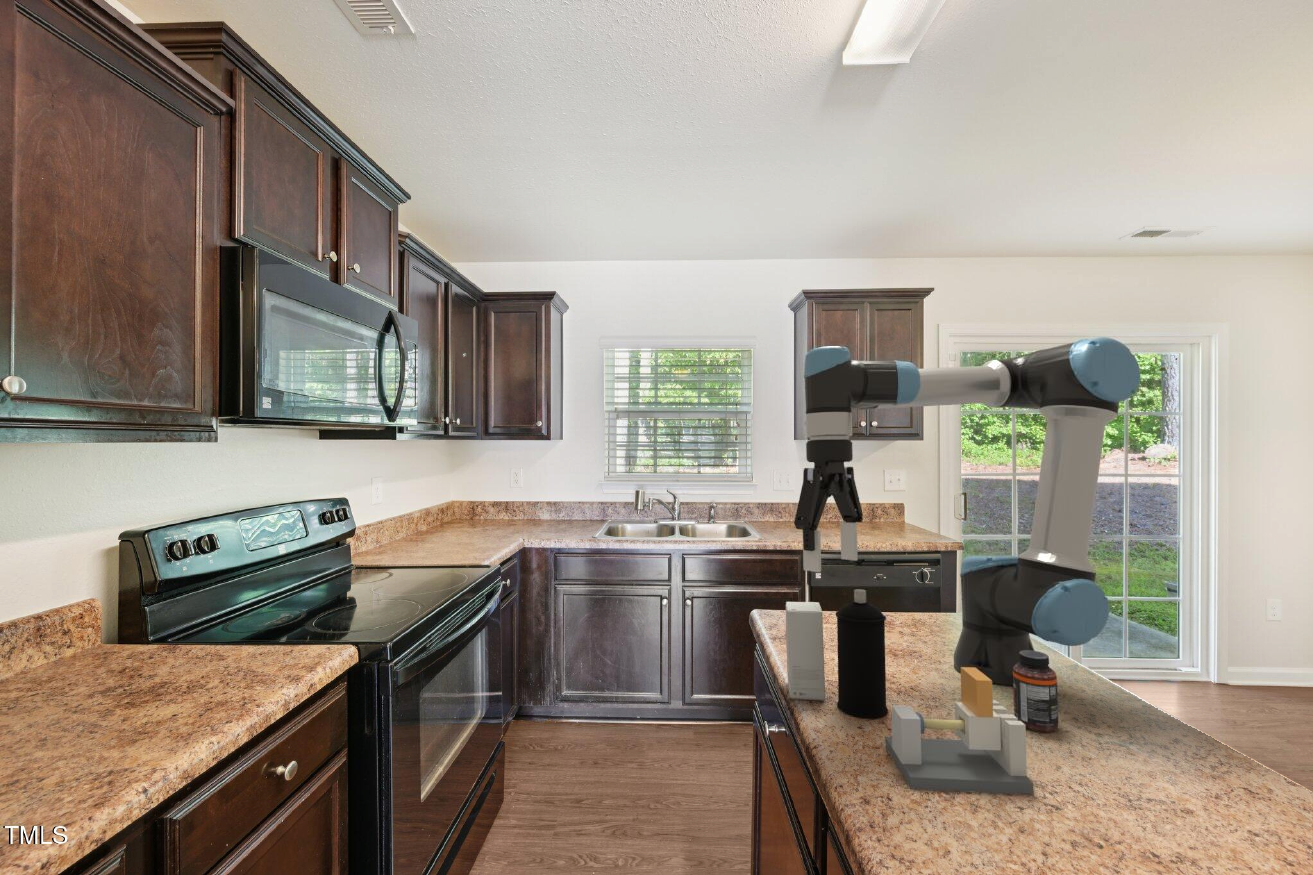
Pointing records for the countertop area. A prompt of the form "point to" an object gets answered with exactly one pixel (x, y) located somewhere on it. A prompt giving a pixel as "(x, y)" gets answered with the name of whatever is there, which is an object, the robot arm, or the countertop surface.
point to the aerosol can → (861, 659)
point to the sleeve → (977, 712)
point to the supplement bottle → (1035, 692)
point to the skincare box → (805, 650)
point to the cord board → (958, 755)
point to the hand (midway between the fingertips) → (831, 565)
